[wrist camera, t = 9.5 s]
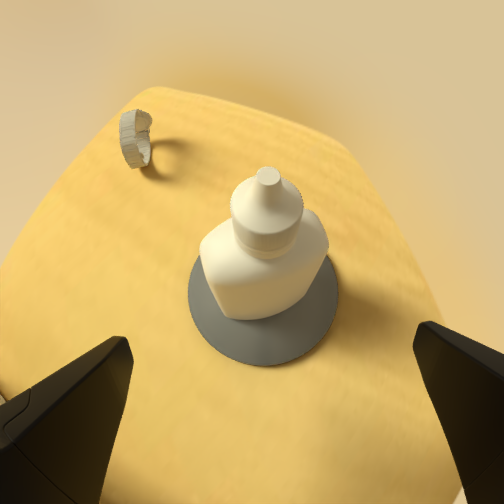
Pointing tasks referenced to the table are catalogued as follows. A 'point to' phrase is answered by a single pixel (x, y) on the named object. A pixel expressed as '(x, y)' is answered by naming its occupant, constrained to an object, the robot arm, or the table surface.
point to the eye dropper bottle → (263, 249)
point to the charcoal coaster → (266, 321)
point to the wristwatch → (135, 138)
